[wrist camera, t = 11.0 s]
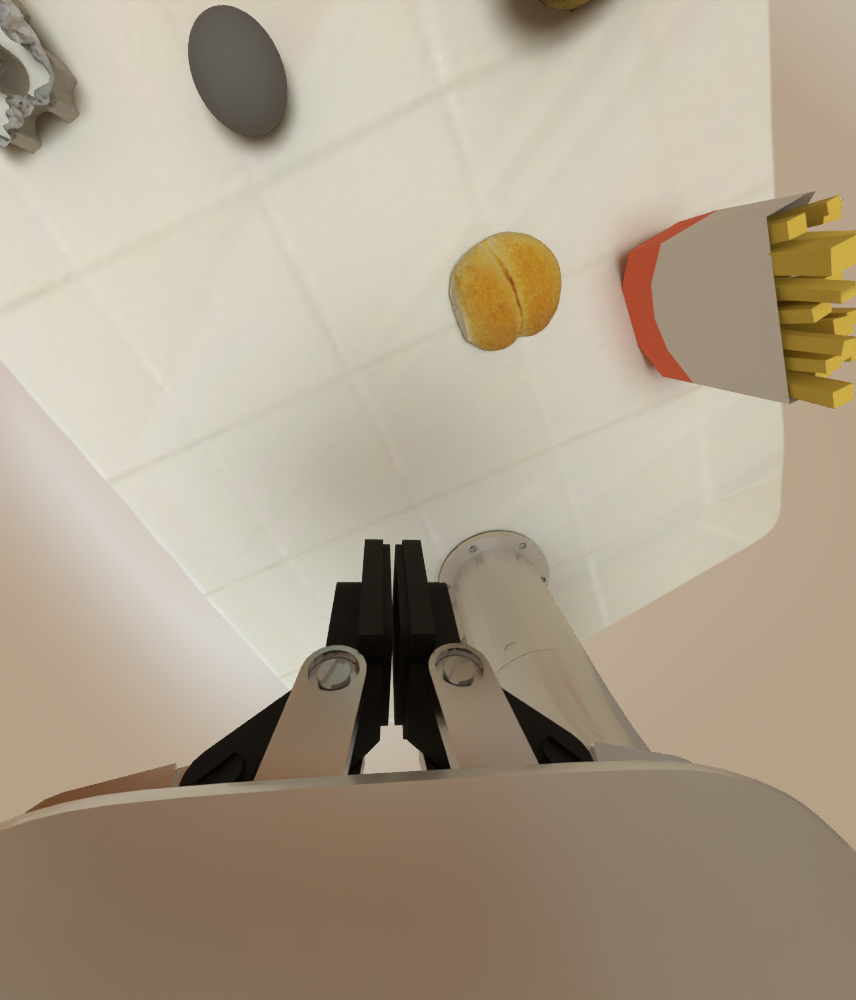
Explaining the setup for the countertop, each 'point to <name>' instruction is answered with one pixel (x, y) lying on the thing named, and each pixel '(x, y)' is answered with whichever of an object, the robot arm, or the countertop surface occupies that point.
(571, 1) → the potato
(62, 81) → the egg carton
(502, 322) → the bread roll
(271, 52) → the dark gray ball
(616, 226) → the countertop surface
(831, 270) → the french fries container
